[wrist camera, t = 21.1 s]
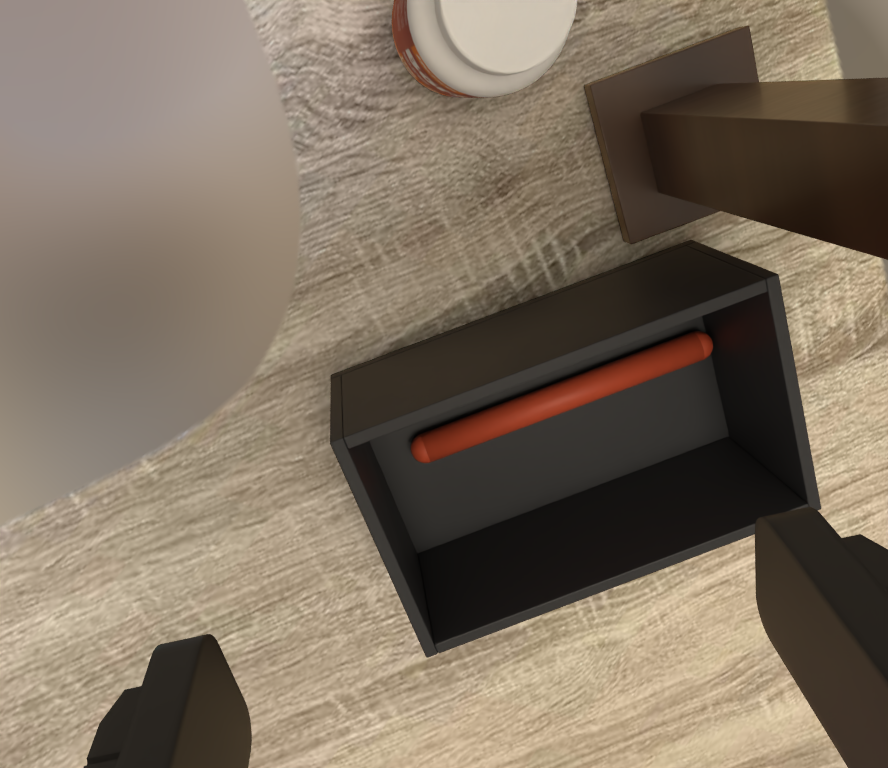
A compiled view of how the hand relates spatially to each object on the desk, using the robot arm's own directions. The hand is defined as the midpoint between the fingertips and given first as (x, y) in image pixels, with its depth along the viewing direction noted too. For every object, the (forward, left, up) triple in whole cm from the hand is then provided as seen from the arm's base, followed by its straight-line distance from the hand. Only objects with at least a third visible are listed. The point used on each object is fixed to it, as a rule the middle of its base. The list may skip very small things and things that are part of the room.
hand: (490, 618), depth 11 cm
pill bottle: (-5, +9, -30) cm, 32 cm away
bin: (+12, +1, -30) cm, 32 cm away
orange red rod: (+12, +2, -29) cm, 31 cm away
